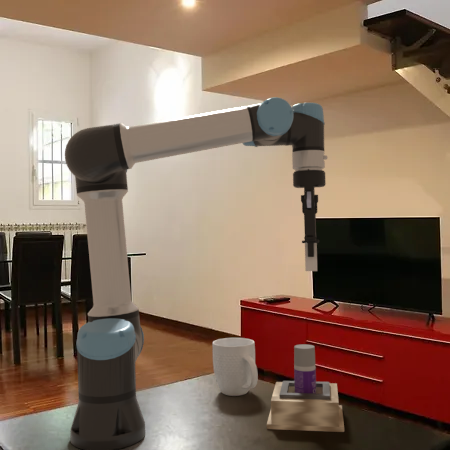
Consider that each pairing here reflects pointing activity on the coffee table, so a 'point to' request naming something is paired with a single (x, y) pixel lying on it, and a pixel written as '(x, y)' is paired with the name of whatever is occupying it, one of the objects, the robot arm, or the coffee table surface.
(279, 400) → the socket
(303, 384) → the container
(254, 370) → the mug
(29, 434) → the coffee table surface
